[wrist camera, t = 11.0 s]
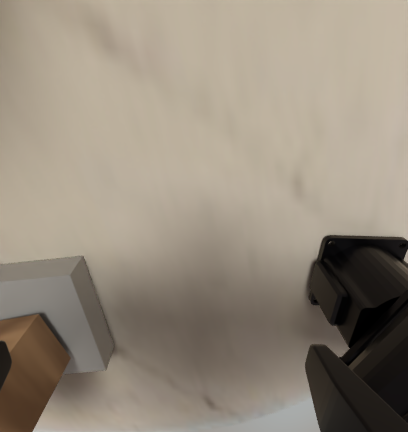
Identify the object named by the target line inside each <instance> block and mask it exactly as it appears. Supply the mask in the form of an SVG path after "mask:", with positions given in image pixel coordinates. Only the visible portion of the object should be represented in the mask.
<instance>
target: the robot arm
mask: <svg viewBox="0 0 408 432" xmlns="http://www.w3.org/2000/svg"><path fill="white" fill-rule="evenodd" d="M330 241H333V242H332V243H331V244H328V243H329V242H330ZM401 243H402V245H400V244H401ZM399 245H400V246H399ZM407 250H408V241H407V240H406V239H405V238H402V237H372V236H336V235H330V236H327V237H325V238H324V240H323V243H322V247H321V251H320V255H319V259H318V261H317V262H316V263H315V267H314V271H313V275H312V279H311V283H310V289H311V291H310V295H309V300H310V302H311V304H313V305H320V307H321V309H322V311H323V313H324V314H325V316H326V318H327V320H328V322H329V323H330V324H331V325H332V326H337V328H338V329H339V331H340V333H341V335H342V336H343V338H344V340H345V342H346V343H347V345H348V347H349V348H350V349H349V350H348V351H347V352H346V353H345V354H344V355H343V356H342V357H338V356H336V355H335V354H334V353H333V352H332V351H331V350H330V349H329V348H328V347H327V346H325V345H323V344H312V345H311V346H310V348H309V351H308V355H307V359H306V362H305V369H306V374H307V379H308V383H309V387H310V391H311V395H312V399H313V404H314V408H315V412H316V416H317V420H318V424H319V428H320V431H321V432H408V264H407V263H406V262H405V261H404V257H405V255H406V252H407ZM315 298H316V299H315ZM314 299H315V300H314ZM11 365H12V358H11V355H10V353H9V350H8V347H7V344H6V342H5V341H3V340H0V391H1V389H2V387H3V384H4V382H5V380H6V378H7V375H8V373H9V371H10V368H11Z"/></svg>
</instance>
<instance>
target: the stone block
mask: <svg viewBox="0 0 408 432" xmlns="http://www.w3.org/2000/svg"><path fill="white" fill-rule="evenodd" d="M36 314H39V315H40V317H41V318H42V319H43V321H44V322H45V323H46V325H47V326H48V328H49V329H50V330H51V332H52V333H53V334H54V336H55V337H56V338H57V340H58V341H59V343H60V344H61V345H62V347H63V348H64V349H65V351H66V352H67V353H68V355H69V356H70V358H71V359H70V361H69V363H68V364H67V366H66V368H65V370H64V372H63V374H73V373H84V372H95V371H106V370H107V366H108V363H109V360H110V357H111V354H112V351H113V348H114V344H113V341H112V338H111V335H110V332H109V329H108V326H107V323H106V320H105V318H104V315H103V312H102V309H101V306H100V303H99V300H98V297H97V294H96V292H95V289H94V286H93V283H92V280H91V277H90V274H89V271H88V268H87V265H86V263H85V260H84V257H83V256H75V257H65V258H56V259H47V260H37V261H28V262H18V263H9V264H0V321H1V320H7V319H13V318H18V317H24V316H30V315H36Z"/></svg>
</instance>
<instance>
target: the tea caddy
mask: <svg viewBox="0 0 408 432" xmlns="http://www.w3.org/2000/svg"><path fill="white" fill-rule="evenodd" d="M0 340H3V341H5V342H6V344H7V347H8V350H9V353H10V355H11V358H12V365H11V368H10V371H9V373H8V375H7V378H6V380H5V382H4V384H3V387H2V389H1V391H0V432H32V431H33V429H34V428H35V426H36V424H37V422H38V420H39V418H40V416H41V414H42V412H43V410H44V408H45V407H46V405H47V403H48V401H49V399H50V397H51V395H52V393H53V391H54V389H55V387H56V386H57V384H58V382H59V380H60V378H61V376H62V374H63V372H64V370H65V368H66V366H67V364H68V363H69V361H70V359H71V358H70V356H69V355H68V353H67V352H66V351H65V349H64V348H63V347H62V345H61V344H60V343H59V341H58V340H57V338H56V337H55V336H54V334H53V333H52V332H51V330H50V329H49V328H48V326H47V325H46V323H45V322H44V321H43V319H42V318H41V317H40V315H39V314H36V315H30V316H24V317H18V318H13V319H7V320H1V321H0Z"/></svg>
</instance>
